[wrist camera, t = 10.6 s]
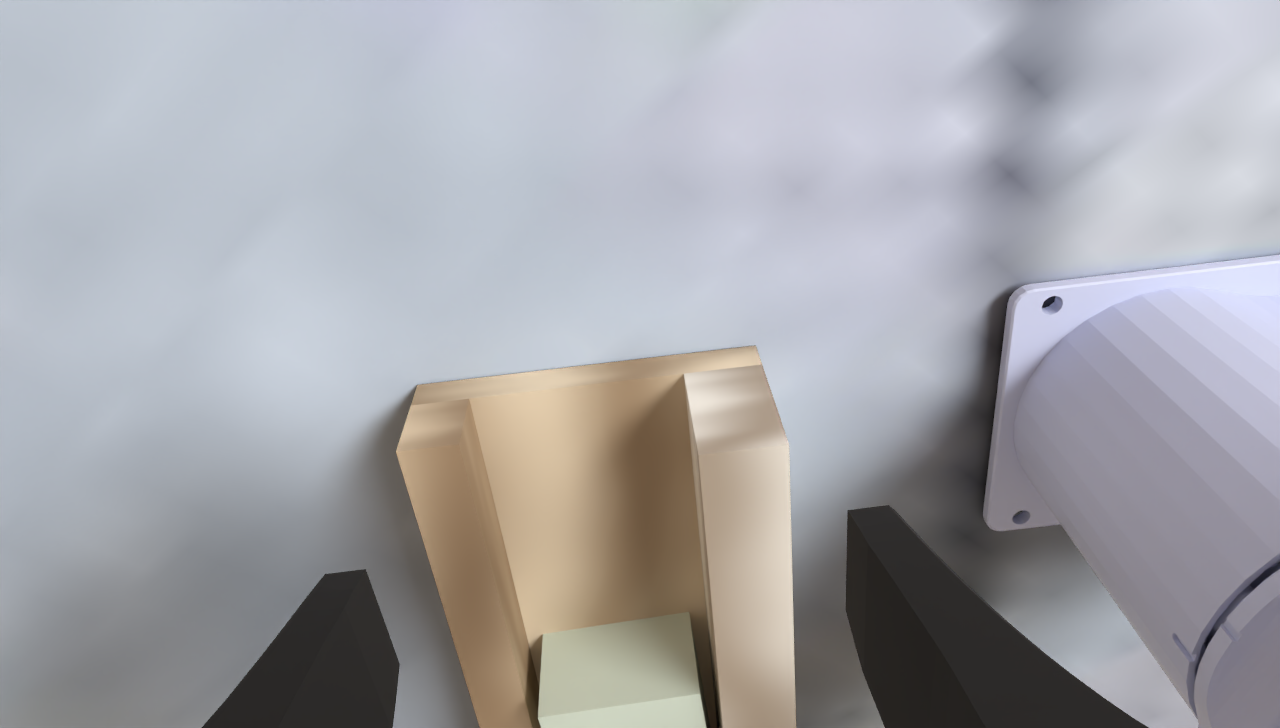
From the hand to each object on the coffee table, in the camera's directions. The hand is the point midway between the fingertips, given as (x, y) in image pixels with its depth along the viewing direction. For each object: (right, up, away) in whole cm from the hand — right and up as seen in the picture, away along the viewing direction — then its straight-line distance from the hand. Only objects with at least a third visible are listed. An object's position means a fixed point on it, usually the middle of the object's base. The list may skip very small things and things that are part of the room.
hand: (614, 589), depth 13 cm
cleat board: (0, -5, +15) cm, 16 cm away
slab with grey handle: (0, -8, +15) cm, 17 cm away
